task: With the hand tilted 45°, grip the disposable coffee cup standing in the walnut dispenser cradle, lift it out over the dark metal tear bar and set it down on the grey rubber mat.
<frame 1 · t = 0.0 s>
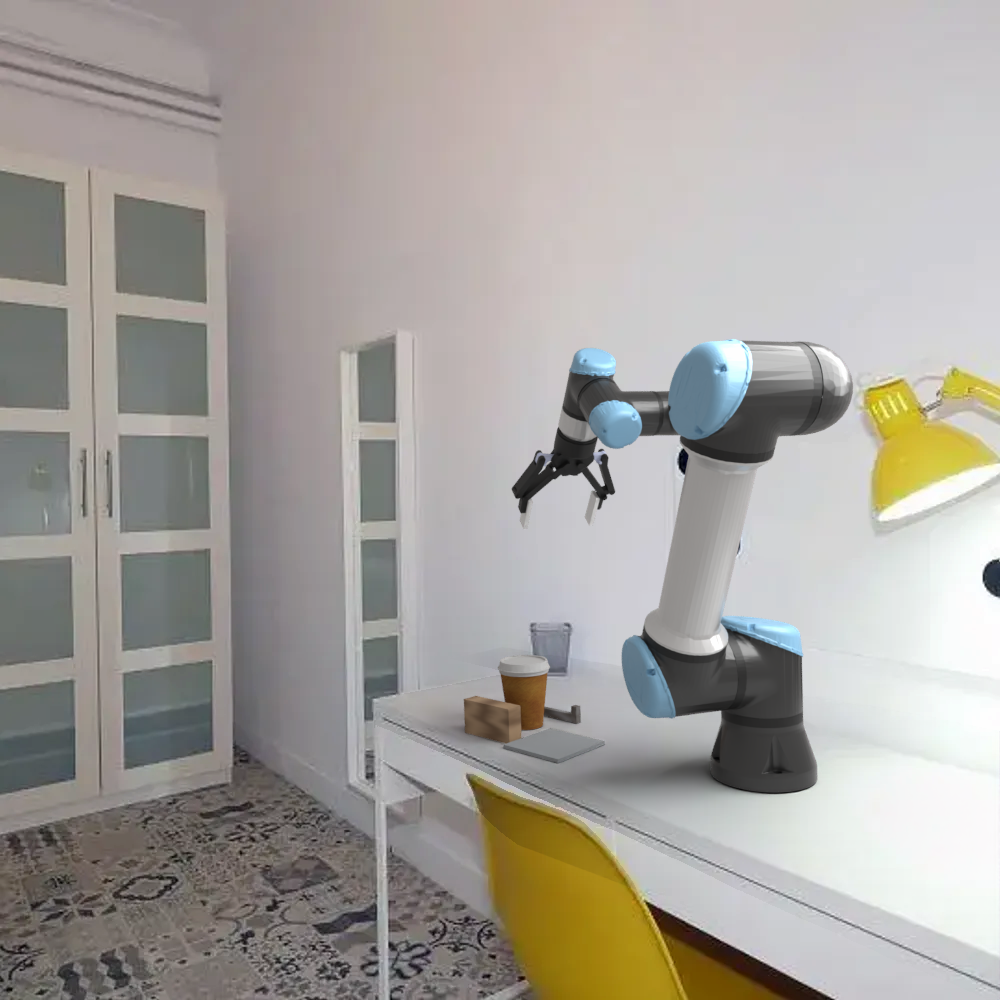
hand: (556, 523, 168), 36 cm above the table, tool tilted 35°, fingers open, 13 cm apart
grey mat: (554, 746, 144), on the table
dispenser cradle: (525, 725, 157), on the table
disposable coffee cup: (525, 726, 157), on the table
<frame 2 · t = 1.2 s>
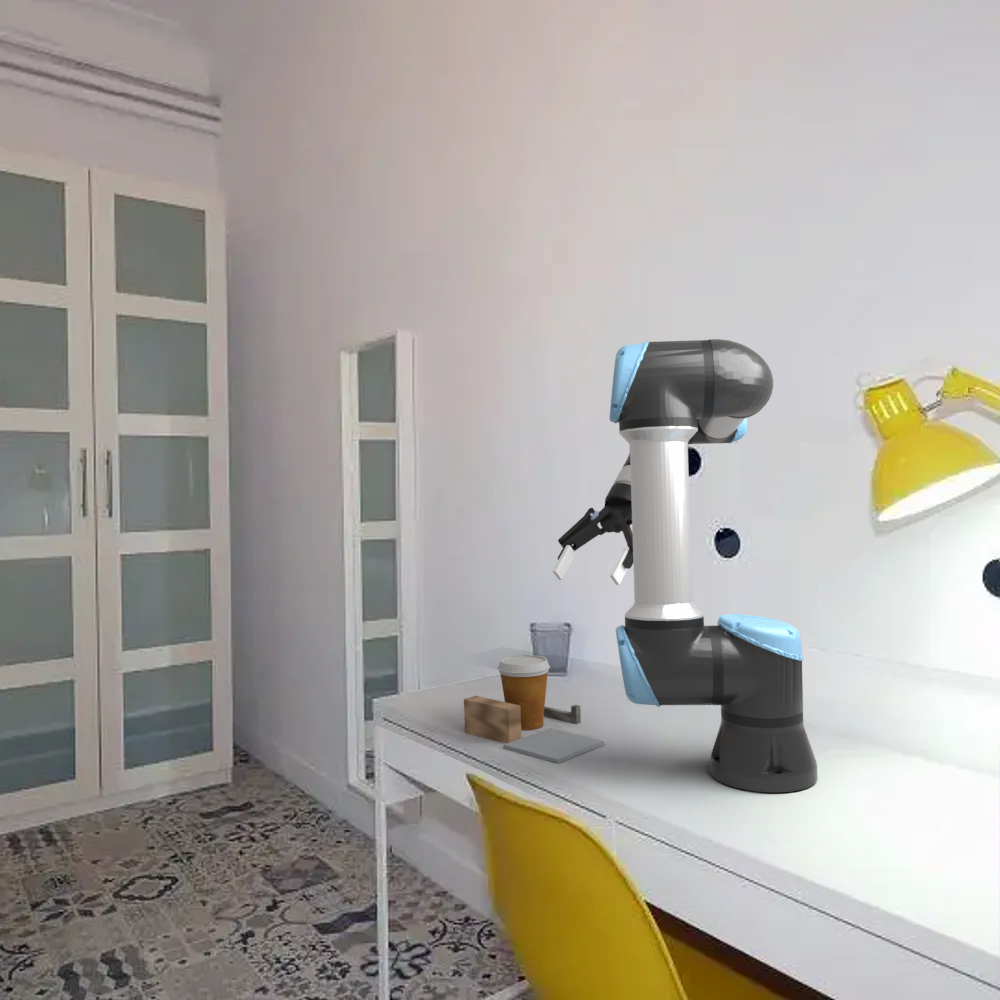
hand: (584, 578, 161), 26 cm above the table, tool tilted 45°, fingers open, 13 cm apart
nothing on the table moved.
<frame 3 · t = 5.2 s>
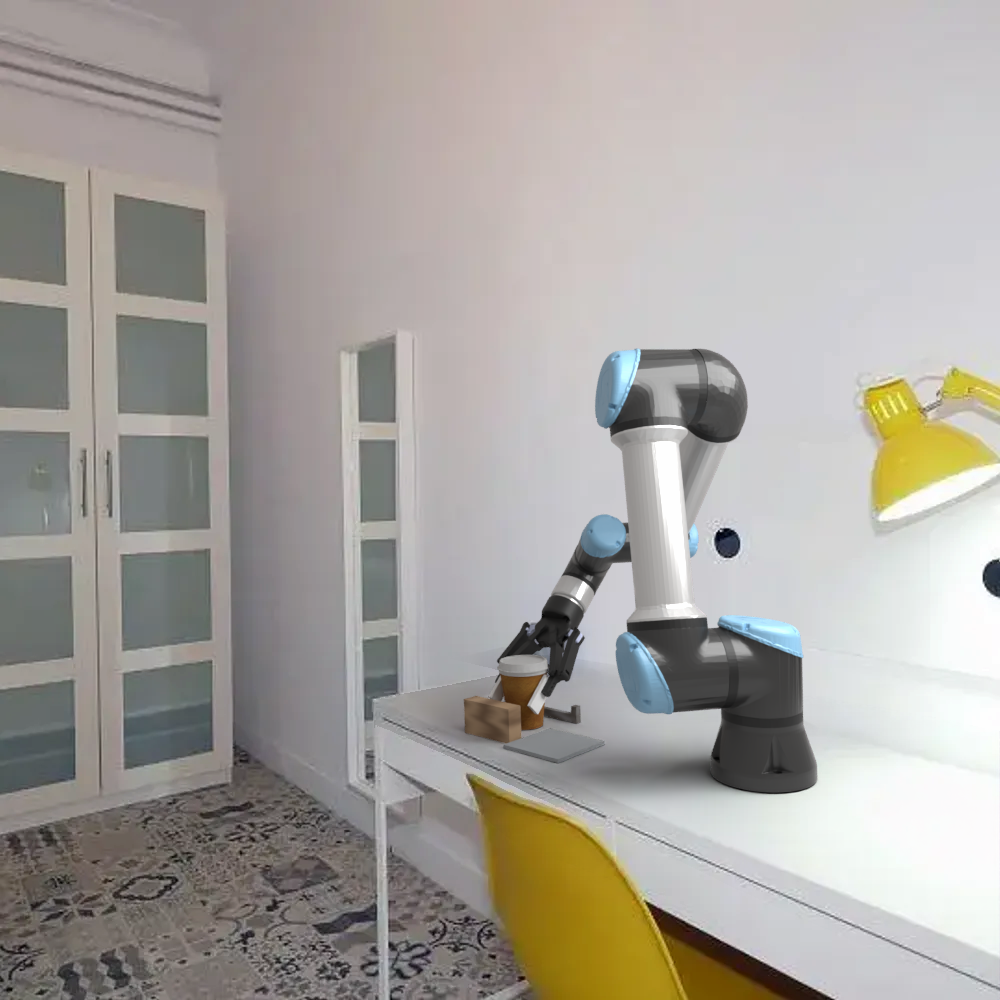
hand: (512, 705, 155), 4 cm above the table, tool tilted 45°, fingers closed on disposable coffee cup, 9 cm apart
disposable coffee cup: (525, 726, 157), on the table, touching gripper
when the fingers open (7 cm above the table, at t = 10.6 s): disposable coffee cup drops 1 cm, resting on grey mat.
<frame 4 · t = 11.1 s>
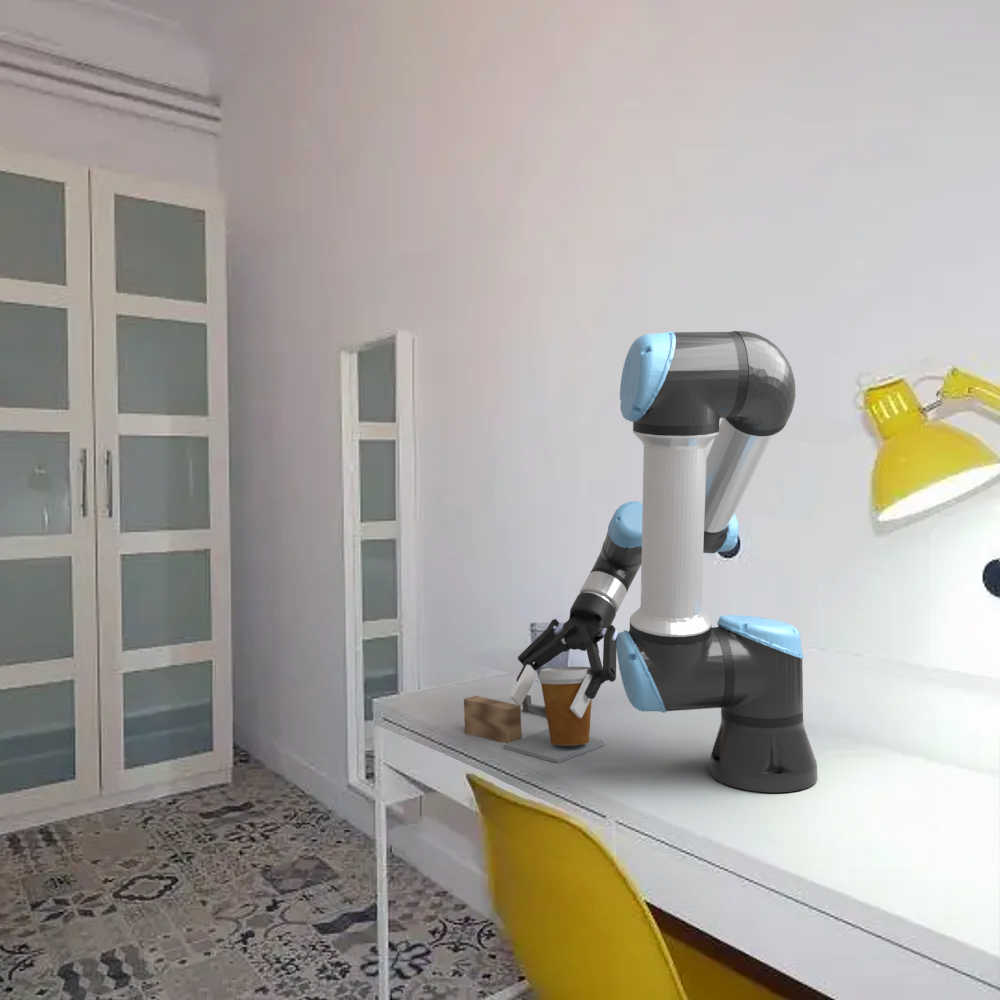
hand: (544, 707, 142), 7 cm above the table, tool tilted 45°, fingers open, 12 cm apart
disposable coffee cup: (569, 743, 143), point 1 cm above the table, touching grey mat, gripper
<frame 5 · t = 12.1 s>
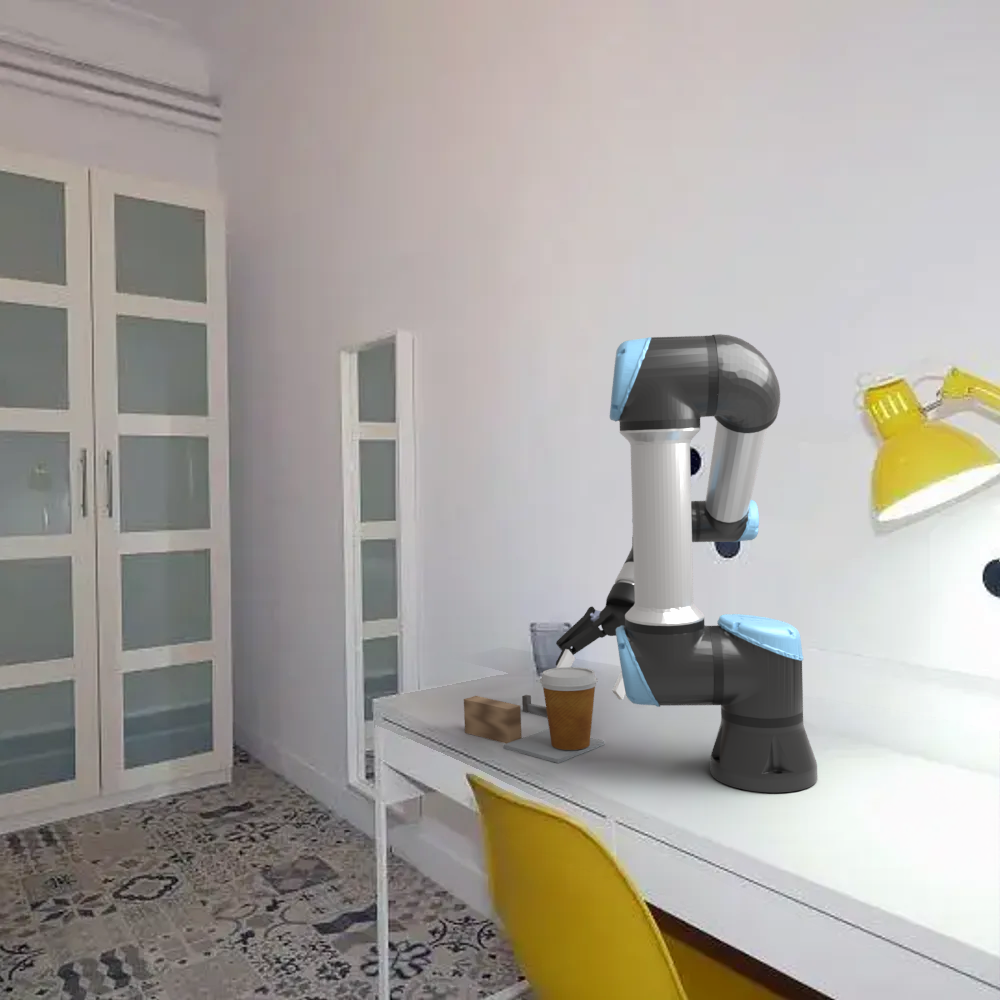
hand: (585, 689, 150), 8 cm above the table, tool tilted 45°, fingers open, 13 cm apart
disposable coffee cup: (570, 746, 143), resting on grey mat
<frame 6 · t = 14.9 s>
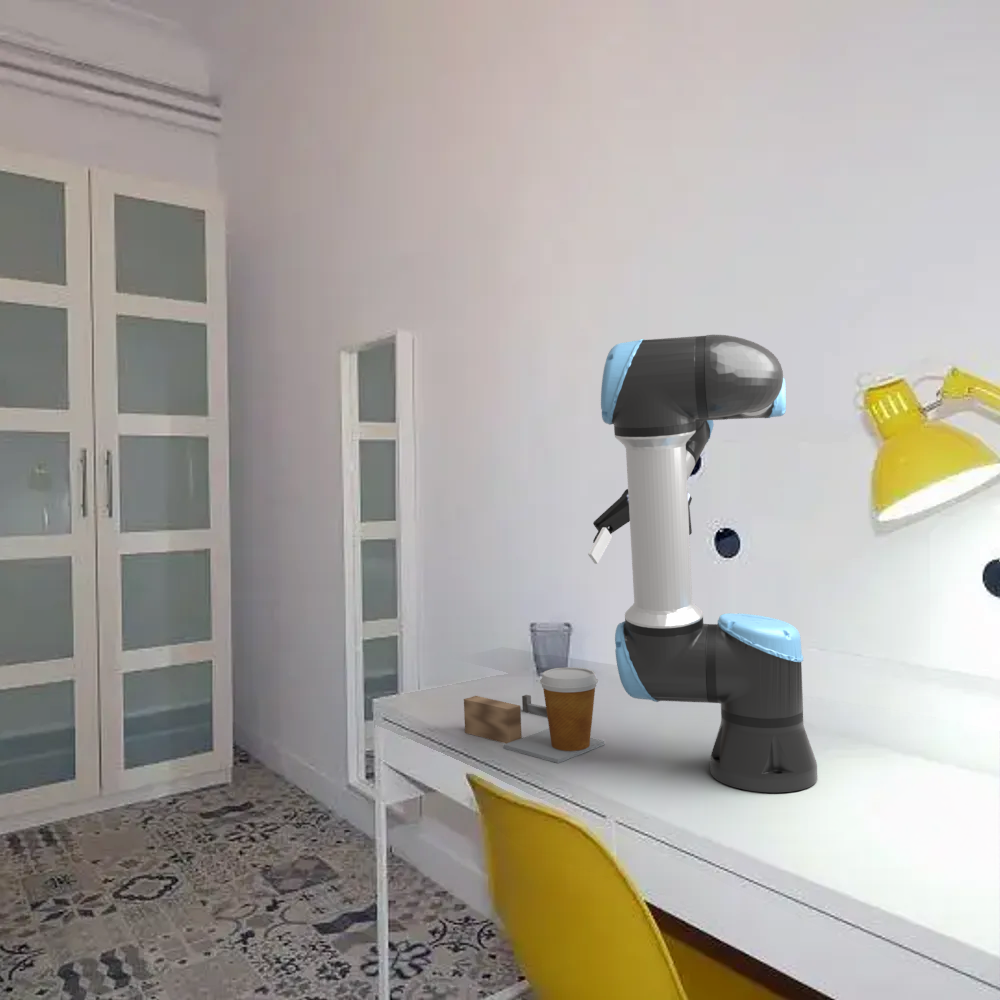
hand: (623, 560, 153), 30 cm above the table, tool tilted 45°, fingers open, 13 cm apart
nothing on the table moved.
at the end: disposable coffee cup 3.1 cm from the grey mat (horizontally); disposable coffee cup tilted 0°; the gripper is holding nothing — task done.
